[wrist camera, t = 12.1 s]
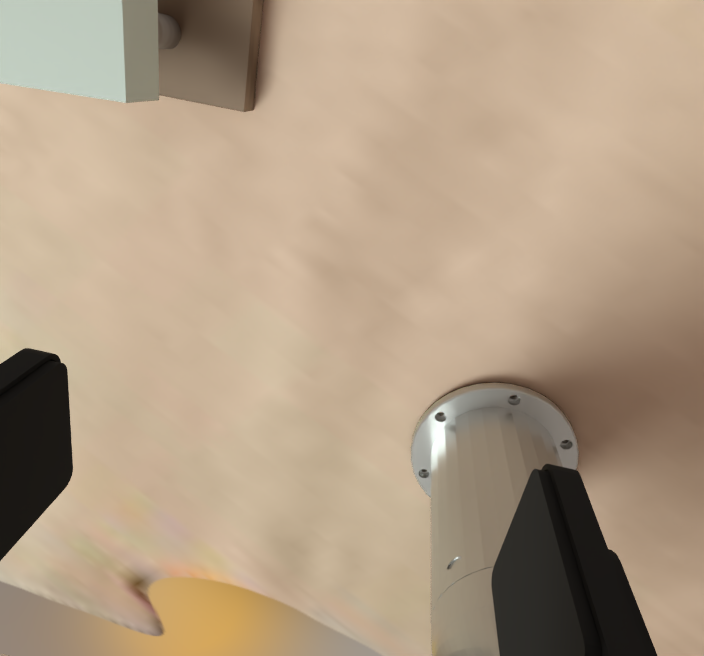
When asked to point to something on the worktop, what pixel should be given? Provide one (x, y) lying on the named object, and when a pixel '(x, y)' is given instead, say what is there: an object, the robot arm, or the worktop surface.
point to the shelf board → (82, 47)
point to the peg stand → (209, 51)
